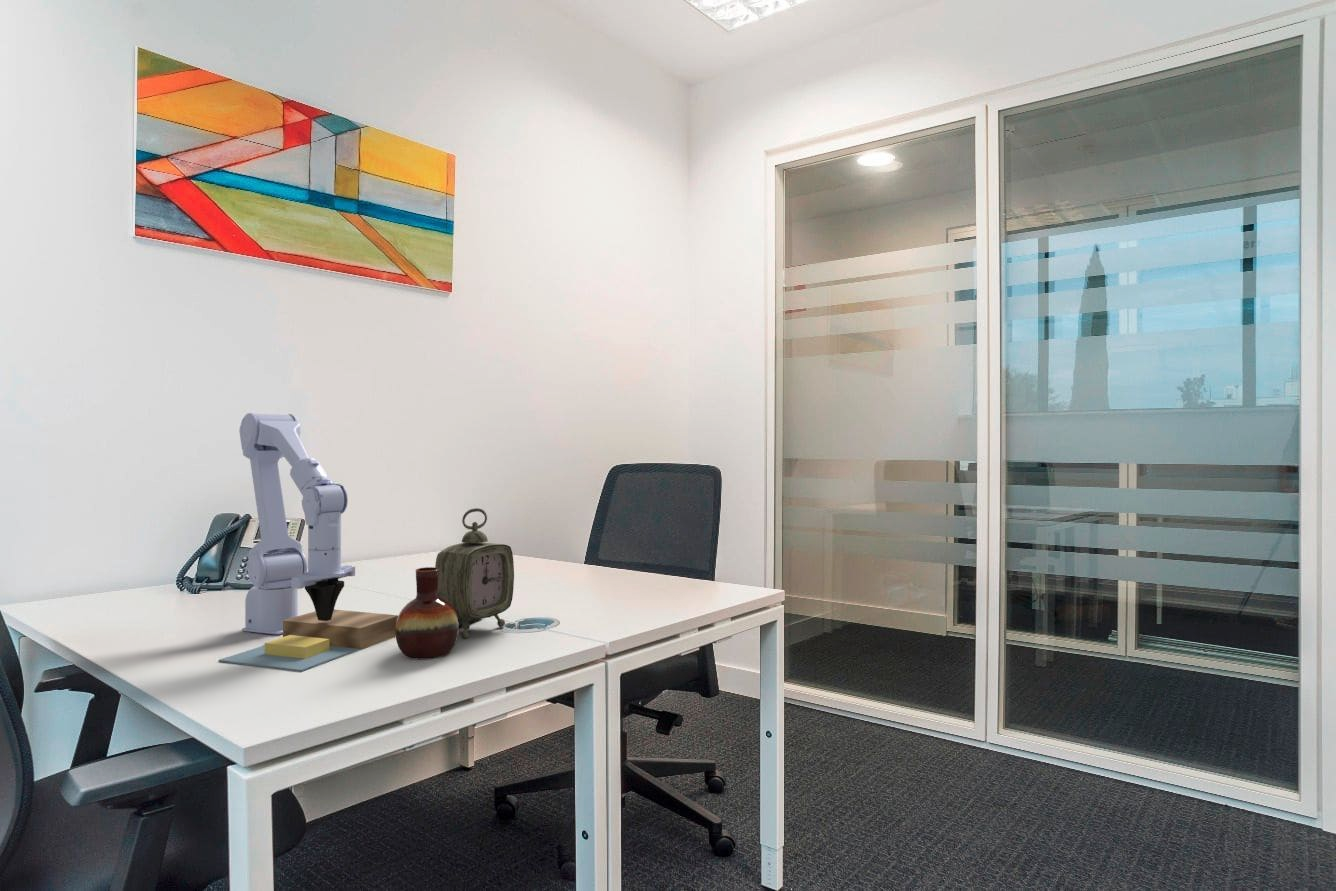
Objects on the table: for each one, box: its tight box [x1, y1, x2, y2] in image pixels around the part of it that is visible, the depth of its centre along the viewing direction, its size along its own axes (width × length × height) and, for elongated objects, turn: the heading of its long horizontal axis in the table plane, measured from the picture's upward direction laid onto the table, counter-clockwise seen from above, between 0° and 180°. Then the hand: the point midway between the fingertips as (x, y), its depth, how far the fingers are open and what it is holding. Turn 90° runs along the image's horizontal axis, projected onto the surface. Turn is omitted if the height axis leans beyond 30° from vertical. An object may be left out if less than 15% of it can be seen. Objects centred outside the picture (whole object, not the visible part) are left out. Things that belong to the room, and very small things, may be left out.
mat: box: [218, 645, 360, 673], centre depth 142 cm, size 18×14×1 cm
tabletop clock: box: [434, 507, 515, 639], centre depth 160 cm, size 14×9×25 cm, turn 151°
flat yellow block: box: [263, 635, 330, 659], centre depth 143 cm, size 9×6×2 cm, turn 72°
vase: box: [395, 566, 460, 660], centre depth 144 cm, size 11×11×15 cm
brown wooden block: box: [282, 609, 399, 651], centre depth 154 cm, size 18×11×4 cm, turn 72°
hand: (324, 619), depth 150 cm, fingers closed
